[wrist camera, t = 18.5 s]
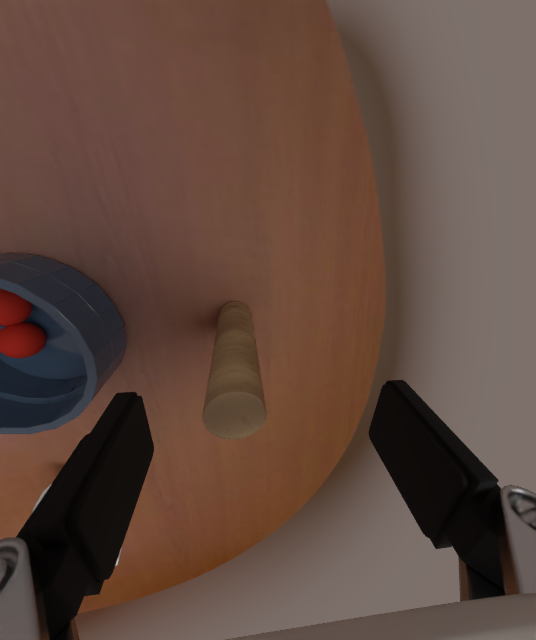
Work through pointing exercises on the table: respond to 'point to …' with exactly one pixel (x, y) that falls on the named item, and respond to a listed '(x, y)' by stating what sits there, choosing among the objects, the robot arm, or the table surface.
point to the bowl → (57, 345)
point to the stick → (234, 377)
